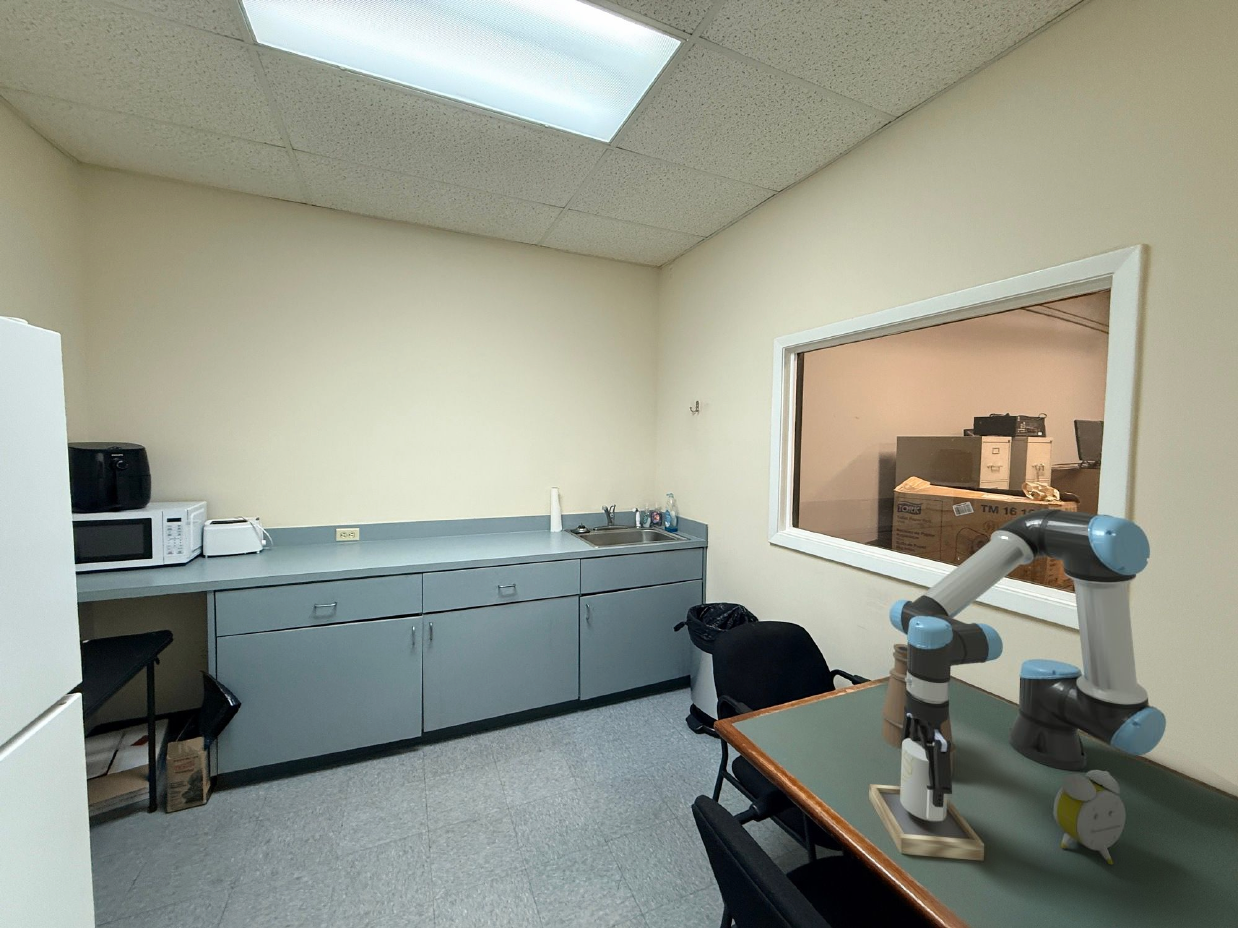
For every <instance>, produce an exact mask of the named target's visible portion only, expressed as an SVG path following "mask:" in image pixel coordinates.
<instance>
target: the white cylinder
mask: <svg viewBox="0 0 1238 928" xmlns="http://www.w3.org/2000/svg"><path fill="white" fill-rule="evenodd" d="M927 745H930V746H933V744H927ZM900 762H901V764H900V765H901V768H900V786H901V789H900V801H901V804H902V805H903V807H904V808H905V809H906V810H907V811H909V812H910V813H911V814H913V815H915V816H917V817H919V818H921V819H924V820H928V819H927V817H926V811H927V786H926V785H930V780H929V761H928V760H927V759H926V754H925V750H924V749H923V748H922V744H921V741H912V740H911V739H910V738H908V739H905V740H904V741H903V742H902V749H901V761H900ZM947 798H948V794H944V803H943V820H944V819H945V818H946V811H947ZM928 821H939V820H928Z"/></svg>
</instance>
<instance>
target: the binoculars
mask: <svg viewBox="0 0 1238 928" xmlns="http://www.w3.org/2000/svg"><path fill="white" fill-rule="evenodd" d="M893 649H894V651H893V652H892V656H893V658H894V667H893V668H891V669H890V670H889V672H888V673H889V675H890V676H889V680H888V684H887V690H886V694H885V695H886V696H885V700H884V705H883V708H882V709H881V710H880V714H881V716H882V724H881V725H882V729H881V738H882V739H883V740H884V741H885V742H886V743H887V744H889V745H891V746H893V747H896V748H898V749H901V750H902V747H901V736H902V729H903V722H904V706H905V703H906V691H907V688H906V685H907V682H906V681H905V678H907V644H904V643H894V644H893ZM948 701H949V702H950V698H949V699H948ZM941 731H942V737H943V739H944V740H949V741H950V742H951V751H950V762H951V777H952V775H954V774H953V773H954V772H953V771H954V770H953V762H954V759H953V758H954V752H956V745H955V743H954V742H953V735H952V725H951V717H950V714H949V717H948V720H946V721H945V722H943V723H942V724H941Z"/></svg>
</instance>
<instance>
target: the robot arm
mask: <svg viewBox="0 0 1238 928" xmlns="http://www.w3.org/2000/svg"><path fill="white" fill-rule="evenodd" d="M1150 555H1151V546H1150V543H1149V539H1148V536H1147V534H1146V532H1145V531H1144V530H1143V529H1142V528H1141V526H1139V525H1138V524H1136V523H1135V522H1134V521H1132V520H1131V519H1127V518H1122V517H1117V516H1112V515H1109V514H1098V513H1089V512H1088V513H1087V512H1080V511H1073V510H1072V511H1071V510H1070V511H1069V510H1063V509H1059V508H1058V509H1057V508H1048V509H1047V508H1044V509H1039V510H1034V511H1032V512H1031V511H1030V512H1029V513H1025V514H1022V515H1020V516H1018V517H1015V518H1014V519H1012V520H1009V521H1008V522H1006V523H1005V524H1003V525H1002V526H1000V527H999V528H998V529H996V530H995V531H994V532H993V533H992V534H991V535H990V541H988V542H987V543H986V544H985V545H984V546H982V547H981V548H980V549H979V550H978V551H976V552H975V553H973V554H972V555H970V557H969V558H967V559H966V560H965V561H964V562H962V563H960V565H958V566H957V567H956V568H954V569H953V570H952V571H951V572H949V573H948V574H947V575H946V576H944V577H943V578H942V579H940V580H939V581H938V582H936V584H934V585H933V586H931V587H930V588H929V589H928V590H926V592H923V594H922V595H921V596H920V597H917V598H916V599H915V600H913V601H912V600H909V599H908V600H907V599H901V600H897V601H896V602H894V603H893V604H892V606H891V607H890V610H889V615H888V616H889V617H888V618H889V621H890V624H891V625H892V627H894V628H895V629H896V630H898V631H899V632H901V633H903V634H904V635H906V640H907V644H906V645H907V678H905V681H906V682H907V685H906V688H907V691H906V703H905V706H904V722H903V729H902V736H901V747H902V742H903V741H904V740H905V739H908V738H910V739H911V740H912V741H921V744H922V748H923V749H924V750H925V754H926V759H927V760H928V761H929V780H930V785H926V786H927V811H926V817H927V819H928V820H939V821H943V803H944V794H947V795H952V794H953V781H952V780H953V779H952V776H951V762H950V751H951V742H950V741H949V740H944V739H943V737H942V731H941V724H942V723H943V722H945V721H946V720H948V717H949V715H950V698H951V696H950V694H951V693H950V691H951V671H952V670H951V668H952V666H959V665H961V666H963V665H971V664H983V663H984V664H985V663H987V662H990V661H995V660H997V659H999V658H1000V657H1001V656H1002V654H1003V648H1004V643H1003V639H1002V637H1001V635H1000V634H999V632H997V630H996V629H995V628H994V627H992V626H991V625H989V624H986V623H979V622H972V623H967V622H963V621H961V620H958V619H956V618H955V617H956V616H958V615H959V614H961V613H962V611H964V610H965V609H966V608H967V607H969V606H971V604H973V603H974V602H975V601H976V600H977V599H979V598H980V597H981V596H982V595H984V594H985V593H986V592H988V591H989V590H990V589H992V587H994V586H995V585H996V584H997V583H999V582H1000V581H1001V580H1003V579H1004V578H1005V577H1006V576H1007V575H1009V573H1011V572H1012V571H1014V570H1015V569H1016V568H1017V567H1019V566H1020V565H1028V564H1030V563H1032V562H1033V561H1034V560H1036V559H1039V558H1050V559H1054V560H1058V561H1061V562H1062V566H1063V567H1062V568H1063V572H1064V574H1065V576H1066V577H1068V578H1070V579H1071V580H1073V585H1074V586H1073V587H1074V593H1075V603H1076V604H1075V605H1076V612H1077V621H1078V631H1079V638H1080V639H1079V641H1080V648H1081V649H1080V650H1081V657H1082V666H1083V673H1082V670H1081V669H1080V668H1079V667H1078V666H1076V665H1072V664H1071V663H1067V662H1063V661H1059V660H1058V661H1057V660H1053V659H1043V658H1042V659H1040V658H1039V659H1038V658H1035V659H1027V660H1025V661H1023V662H1022V664H1021V668H1020V673H1019V693H1018V695H1019V696H1018V713H1017V716H1016V717H1015V720H1014V722H1013V724H1012V726H1011V728H1010V729H1009V731H1008V732H1009V733H1008V742H1009V744H1010V745H1011V747H1012V748H1014V750H1015V751H1017V752H1018V753H1020V754H1022V755H1023V756H1024V757H1027V758H1029V759H1031V760H1033V761H1034V762H1037V763H1040V764H1042V765H1044V766H1045V765H1046V766H1047V767H1052V768H1055V769H1060V770H1066V771H1079V770H1082V769H1084V768H1085V767H1086V766H1087V753H1086V750H1085V747H1084V744H1083V741H1082V738H1081V735H1080V732H1079V731H1082V732H1083V733H1085V734H1088V735H1089V736H1090V737H1093V738H1095V739H1097V740H1100V741H1101V742H1103V743H1105V744H1107V745H1109V746H1111V747H1112V748H1113V749H1117V750H1120V751H1122V752H1124V753H1127V754H1129V755H1130V756H1131V755H1132V756H1144V755H1146V754H1148V753H1149V752H1151V751H1152V750H1154V748H1156V747H1157V745H1158V744H1160V742H1161V740H1162V738H1163V736H1164V734H1165V731H1166V727H1167V719H1166V716H1165V714H1164V713H1163V712H1162V711H1161V710H1160V709H1158V708H1157V707H1156V706H1153V705H1152V706H1151V705H1150V704H1149V695H1148V692H1147V690H1146V688H1145V687H1143V686H1142V685H1141V684H1139V683H1138V681H1137V672H1136V671H1137V670H1136V662H1135V661H1136V660H1135V652H1134V651H1135V650H1134V641H1133V639H1134V638H1133V632H1132V621H1131V610H1130V609H1131V608H1130V603H1129V602H1130V600H1129V591H1128V590H1129V589H1128V584H1129V583H1131V582H1132V581H1134V580H1135V579H1136V578H1137V574H1139V573H1141V572H1143V571H1144V570H1145V569H1146V567H1147V565H1148V564H1149V562H1148V560H1147V559H1150V557H1151V556H1150ZM948 699H949V701H948ZM927 744H933V746H930V745H927Z"/></svg>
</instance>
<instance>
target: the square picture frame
mask: <svg viewBox="0 0 1238 928" xmlns="http://www.w3.org/2000/svg"><path fill="white" fill-rule="evenodd" d="M868 789H869V790H868V791H869V792H868V798H869V800H870V802H871V805H872V806H873V807H874V809H875V811H876V813H877V814H878V816H879V818H880V820H881V821H882V824H883V825H884V826H885V828H886V830H887V832H888V834H889V836H890V838H891V840H893V843H894V845H895V846H896V848H897V851H898V852H899V853H900V854H901V855H910V856H911V855H913V856H921V857H922V856H924V857H926V856H927V857H936V858H946V859H947V858H949V859H961V860H970V861H971V860H973V861H982V862H983V861H984V859H985V858H984V856H985V843H984V842H983V841H982V839H981V838H980V837H979V836H978V834H977V833H976V832H975V831H974V829H973V828H972V827H971V826H970V825H969V823H968V822H967V820H966V819H965V818H964V817H963V815H962V814H961V813H960V812H959V810H958V809H957V808H956V806H955V805H954V804H953V803H952V802H951V800H950V799H949V797H947V811H946V818H945V819H944V820H943V821H928V820H924V819H921V818H919V817H917V816H915V815H913V814H911V813H910V812H909V811H907V810H906V809H905V808H904V807H903V805H902V804H901V801H900V789H901V785H900V786H899V785H884V784H875V783H874V784H872V783H870V784H869V788H868Z"/></svg>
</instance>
